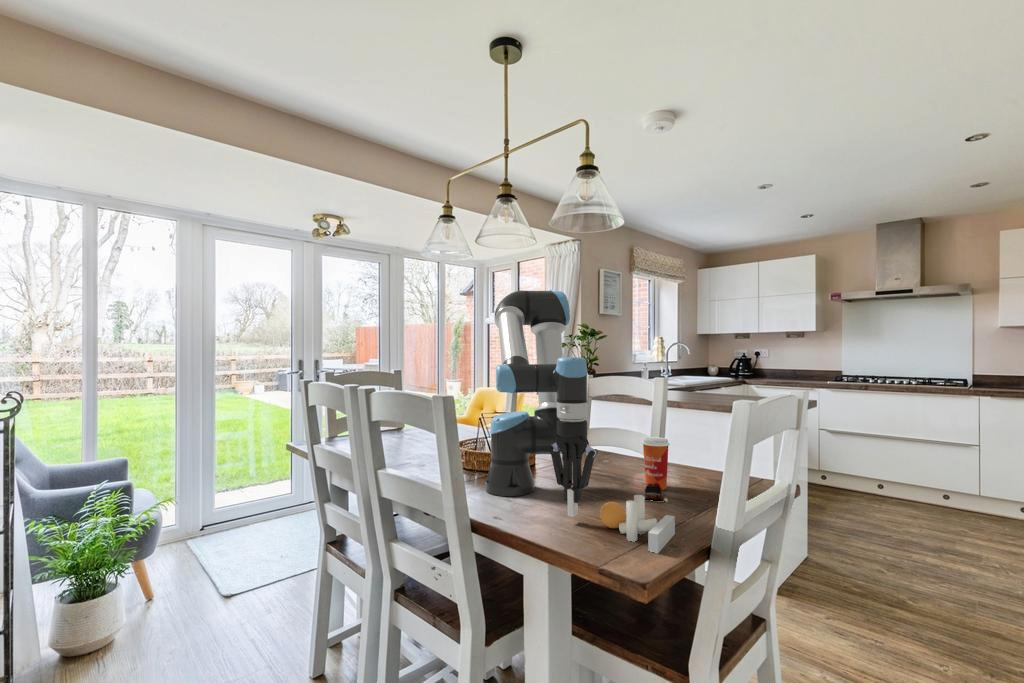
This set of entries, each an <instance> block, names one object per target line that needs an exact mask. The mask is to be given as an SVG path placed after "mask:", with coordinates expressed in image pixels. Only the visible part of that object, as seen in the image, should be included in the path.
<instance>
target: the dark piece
mask: <svg viewBox="0 0 1024 683" xmlns="http://www.w3.org/2000/svg"><path fill="white" fill-rule="evenodd" d="M662 491H663V490H661V488H660V484H654V486H653V485H652V484H648V483H647V487H646V486H645V489H644V493H645V495H643V496H644V497H645V500H653V501H664V502H663V503H665V502H666V501H665V500H664V499H665V498H664V496H662ZM651 494H652V495H651ZM653 494H658V495H653ZM653 501H652V502H653Z"/></svg>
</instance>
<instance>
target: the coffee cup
mask: <svg viewBox="0 0 1024 683" xmlns="http://www.w3.org/2000/svg"><path fill="white" fill-rule="evenodd" d="M641 444H642V447H643V448H642V449H643V451H642V452H643V462H644V463H643V464H644V466H643V467H644V476H645V477H644V478H645V488H646V487H647V483H648V484H652V485H653V486H654V484H660V488H661V491H665V490H667V483H668V480H667V479H668V461H669V446H670V442H669V440H668V438H665V437H657V436H649V437H644V438H643V440H642V442H641ZM664 489H665V490H664Z"/></svg>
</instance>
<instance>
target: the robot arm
mask: <svg viewBox="0 0 1024 683" xmlns="http://www.w3.org/2000/svg"><path fill="white" fill-rule="evenodd" d="M570 312H571V310H570V304H569V299H568V297H567V296H566V294H565V293H564V291H560V290H552V289H550V290H517V291H514V292H510V293H509V294H507V295H505V297H504V298H502V299H501V301H499V303H498V305H497V306H496V309H495V310H494V323H495V326H496V327H497V329H498V336H499V345H500V346H499V347H500V356H501V357H500V359H501V364H498V365H496V367H495V387H496V388H495V389H496V391H498V392H499V393H509V394H516V393H517V394H519V393H522V394H523V393H537V394H538V405H537V407H536V408H535V409H534V410H533V411H534V412H533V413H534V415H533V416H530V414H529V412H528V411H523V410H522V411H512V412H505V413H500V414H498V415H495V416H493V418H492V419H491V422H490V432H489V433H490V466H489V469H488V473H487V476H486V479H485V483H484V484H485V485H484V487H485V488H484V489H485V492H487V493H488V494H491V495H494V496H501V497H518V496H525V495H529V494H532V493H533V492H534V491H535V480H534V476H533V473H532V471H531V466H530V464H529V459H530V458H529V457H530V455H531V456H532V455H535V456H536V455H537V456H538V455H551V460H552V465H553V469H554V475H555V479H556V483H557V485H558V486H562V487H563V488H564V489H563V491H564V492H563V493H564V501H565V502H566V503H567V517H570V518H574V517H576V516H577V515H578V514H579V503H580V502H581V500H582V490H583V489H585V488H587V487H588V486H589V482H590V480H591V474H592V469H593V466H594V460H595V458H596V456H597V455H598V452H599V451H598V449H596V448H595V449H594V448H593V447H592V446H590V442H589V440H588V421H587V420H586V419H587V418H588V367H587V365H588V364H587V359H586V358H584V357H582V356H581V357H577V356H576V357H572V356H571V357H569V356H568V357H566V356H565V357H564V356H563V340H562V333H564V331H565V330H566V326H568V325H569V324H570V318H571V316H570V315H571V314H570ZM524 326H530V332H531V333H532V334H533V335H535V351H536V352H535V354H536V364H535V363H534V364H533V363H531V364H530V362H529V355H528V350H527V344H526V338H525V337H526V336H525V331H524ZM584 454H585V455H586V456H585V459H584V462H583V463H584V465H583V468H582V461H583V455H584Z"/></svg>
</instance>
